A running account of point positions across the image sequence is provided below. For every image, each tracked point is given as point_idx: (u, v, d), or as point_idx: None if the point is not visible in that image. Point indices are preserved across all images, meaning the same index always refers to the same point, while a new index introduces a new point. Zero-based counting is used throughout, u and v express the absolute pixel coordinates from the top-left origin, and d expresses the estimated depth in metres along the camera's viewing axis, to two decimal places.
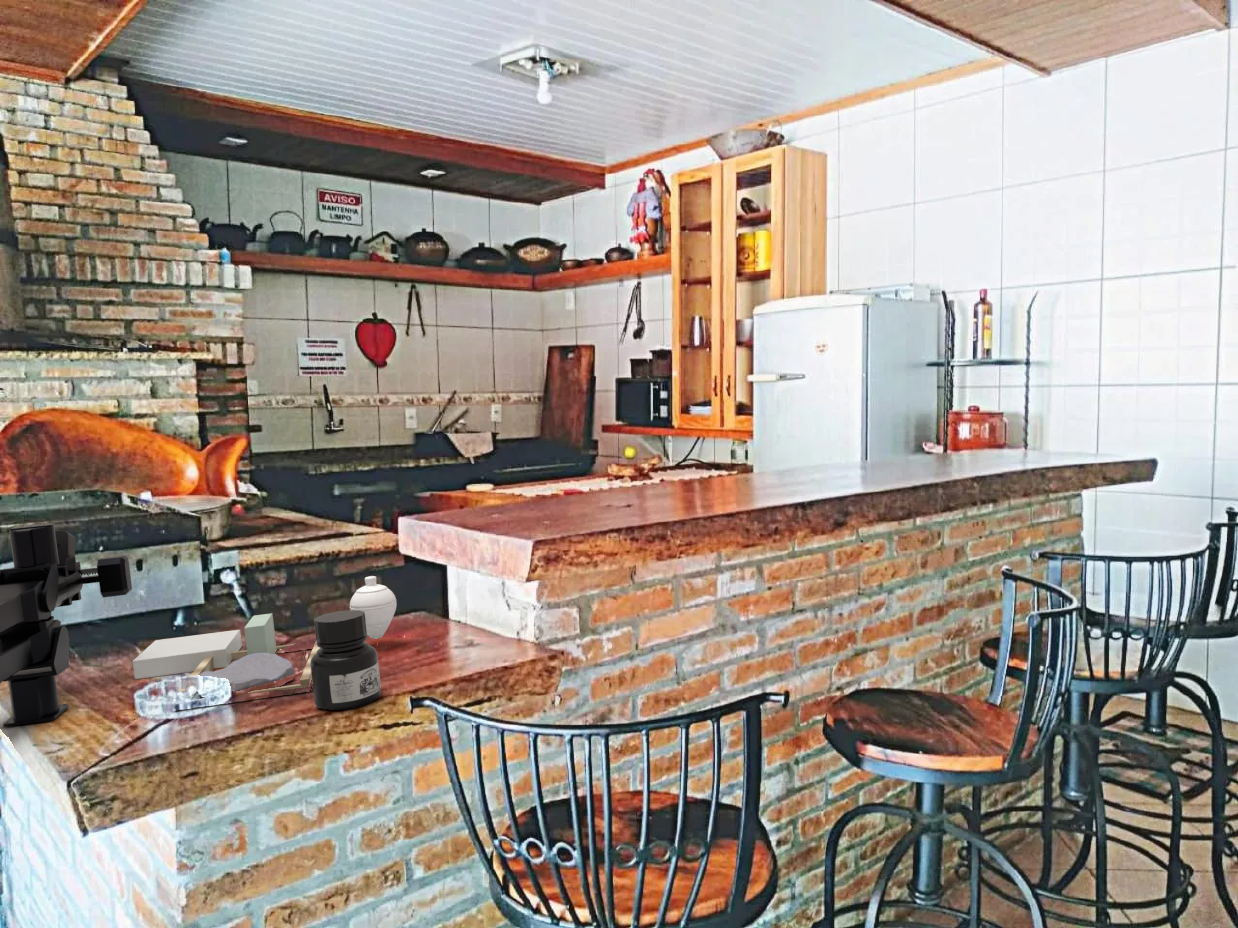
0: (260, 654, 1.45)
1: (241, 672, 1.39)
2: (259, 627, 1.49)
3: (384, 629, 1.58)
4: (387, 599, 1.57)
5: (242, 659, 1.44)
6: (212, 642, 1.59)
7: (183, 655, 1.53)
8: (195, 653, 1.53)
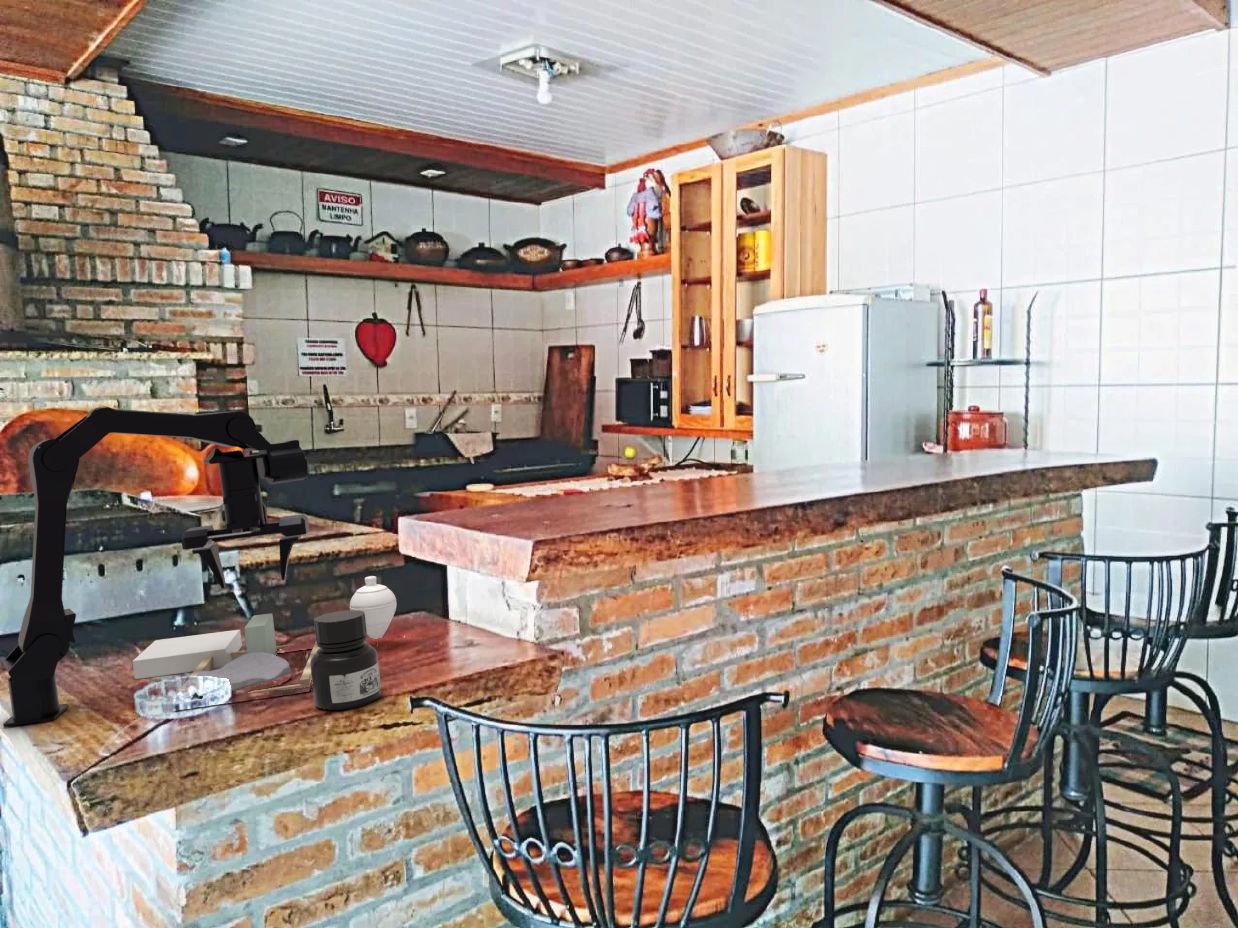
0: (257, 654, 1.45)
1: (238, 672, 1.39)
2: (259, 627, 1.49)
3: (384, 629, 1.58)
4: (387, 599, 1.57)
5: (239, 659, 1.45)
6: (212, 642, 1.59)
7: (183, 655, 1.53)
8: (195, 653, 1.53)
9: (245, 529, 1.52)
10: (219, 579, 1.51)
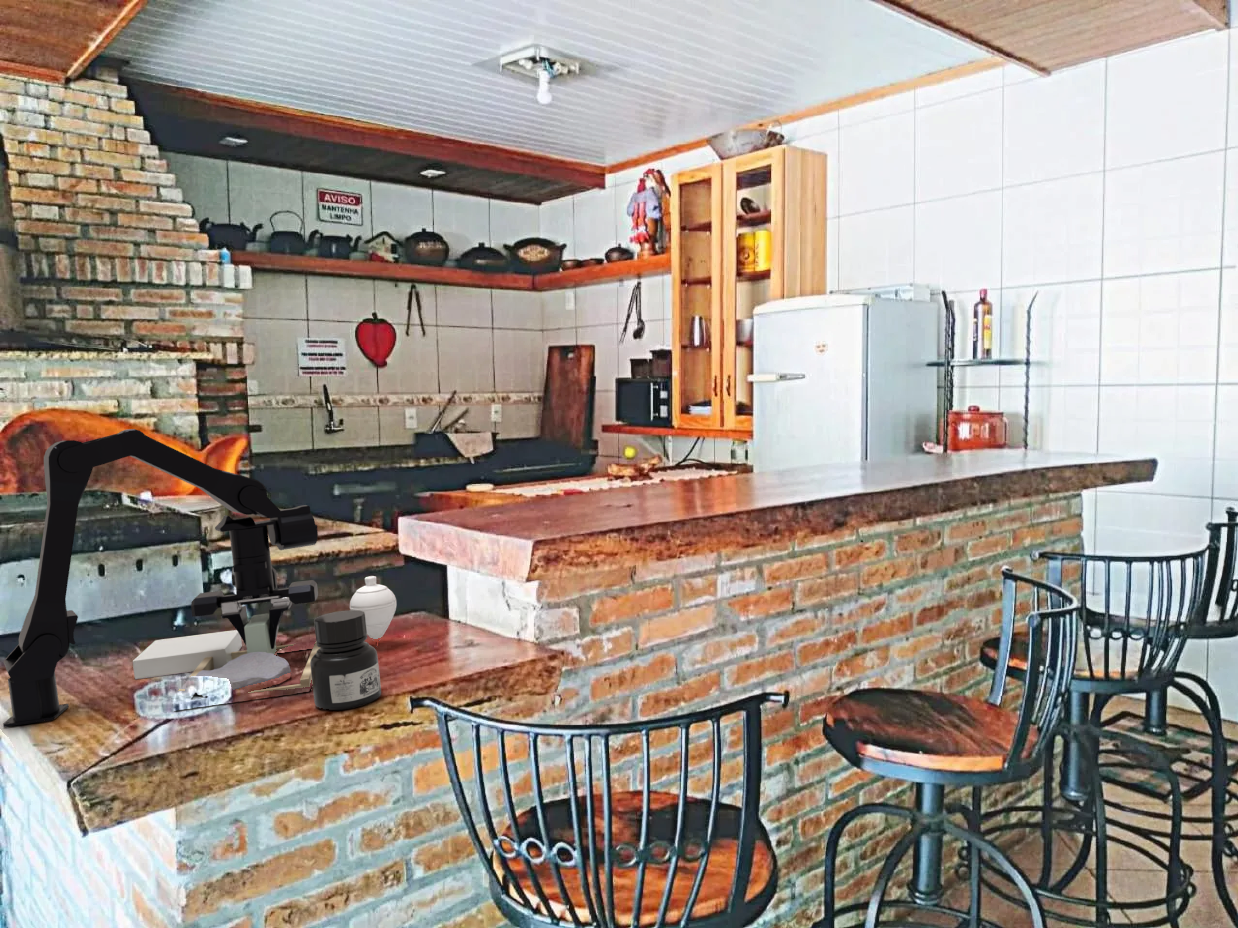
0: (257, 653, 1.46)
1: (238, 671, 1.39)
2: (259, 626, 1.49)
3: (384, 629, 1.58)
4: (387, 599, 1.57)
5: (239, 658, 1.45)
6: (212, 642, 1.59)
7: (183, 655, 1.53)
8: (195, 653, 1.53)
9: (254, 595, 1.52)
10: None
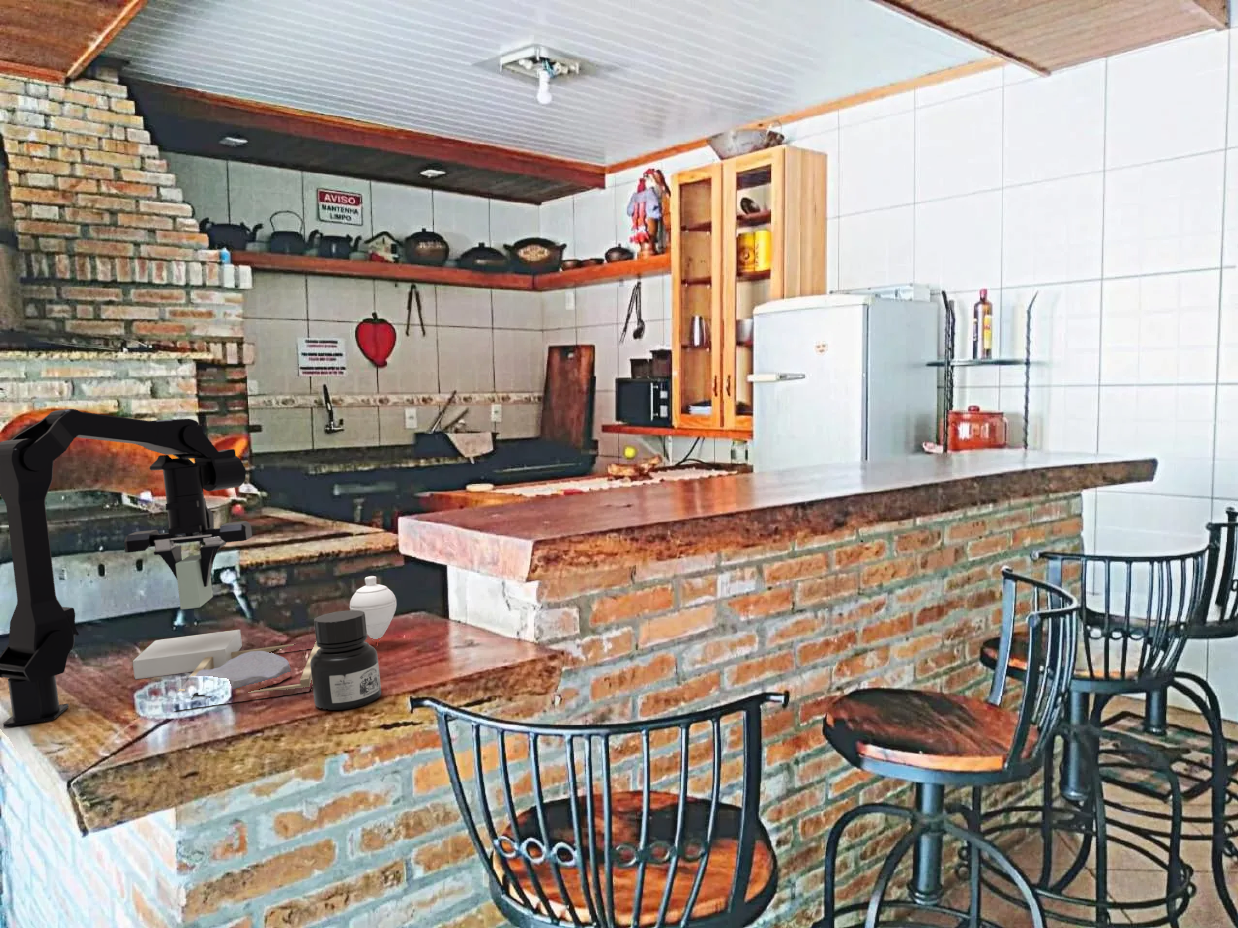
0: (257, 652, 1.46)
1: (239, 670, 1.40)
2: (190, 563, 1.53)
3: (384, 629, 1.58)
4: (387, 599, 1.57)
5: (239, 657, 1.45)
6: (212, 642, 1.59)
7: (183, 655, 1.53)
8: (195, 653, 1.53)
9: (187, 534, 1.56)
10: None
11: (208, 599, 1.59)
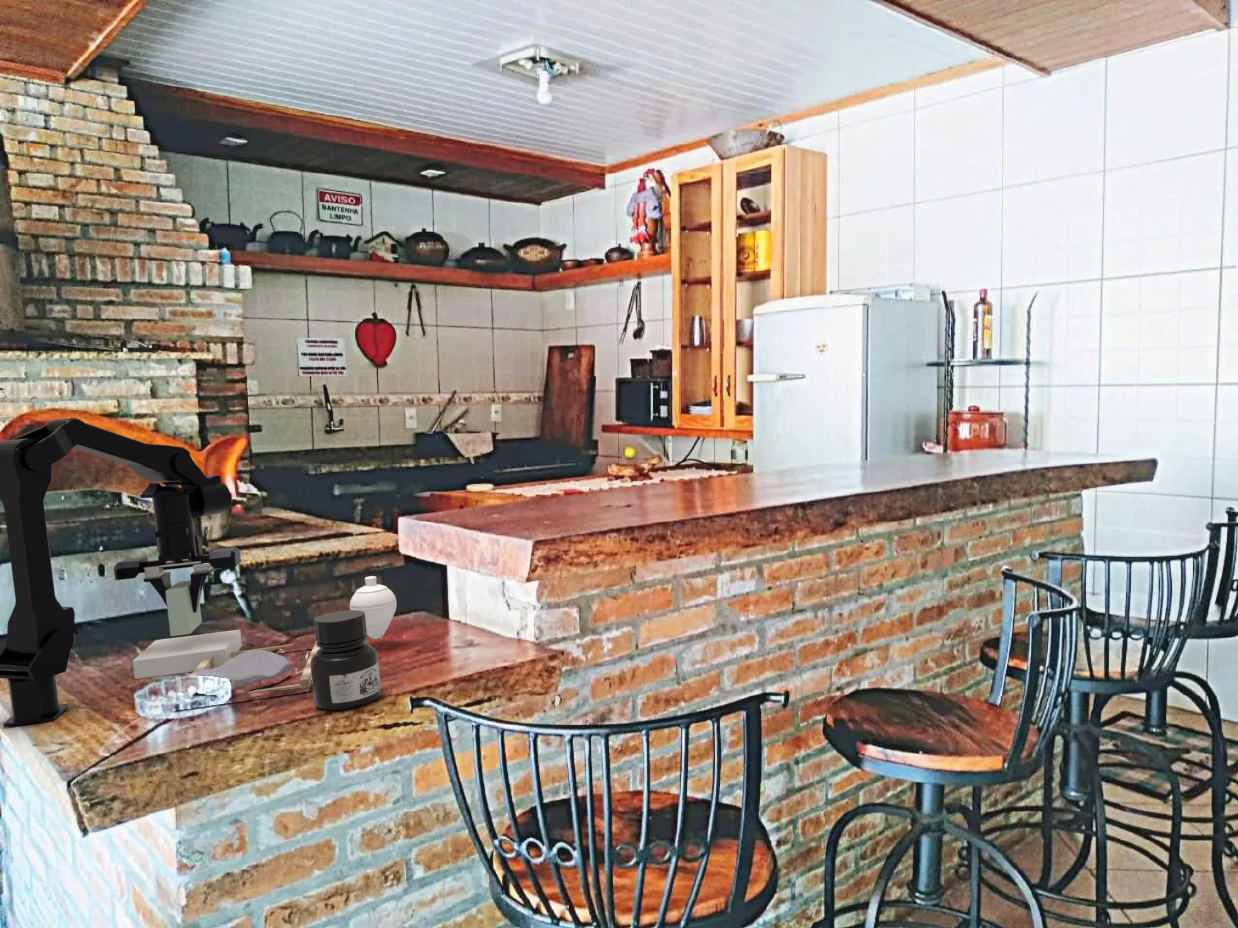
0: (256, 651, 1.46)
1: (239, 669, 1.40)
2: (180, 591, 1.54)
3: (384, 629, 1.58)
4: (387, 599, 1.57)
5: (238, 657, 1.46)
6: (212, 642, 1.59)
7: (183, 655, 1.53)
8: (195, 653, 1.53)
9: (177, 561, 1.58)
10: None
11: (197, 625, 1.61)
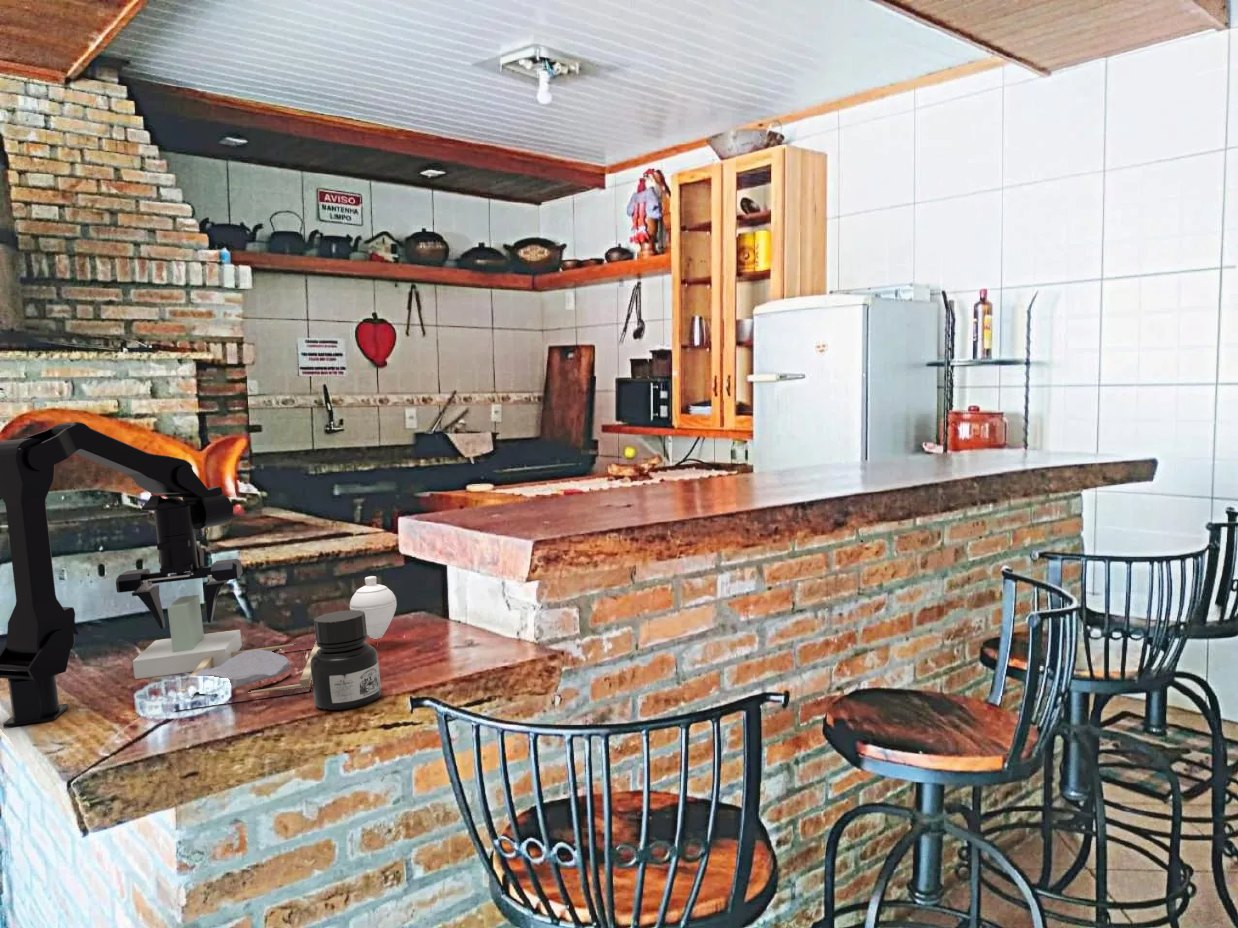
0: (255, 651, 1.47)
1: (240, 668, 1.41)
2: (182, 607, 1.55)
3: (384, 629, 1.58)
4: (387, 599, 1.57)
5: (237, 656, 1.46)
6: (212, 642, 1.59)
7: (183, 655, 1.53)
8: (195, 653, 1.53)
9: (179, 573, 1.58)
10: (158, 620, 1.57)
11: (200, 640, 1.61)
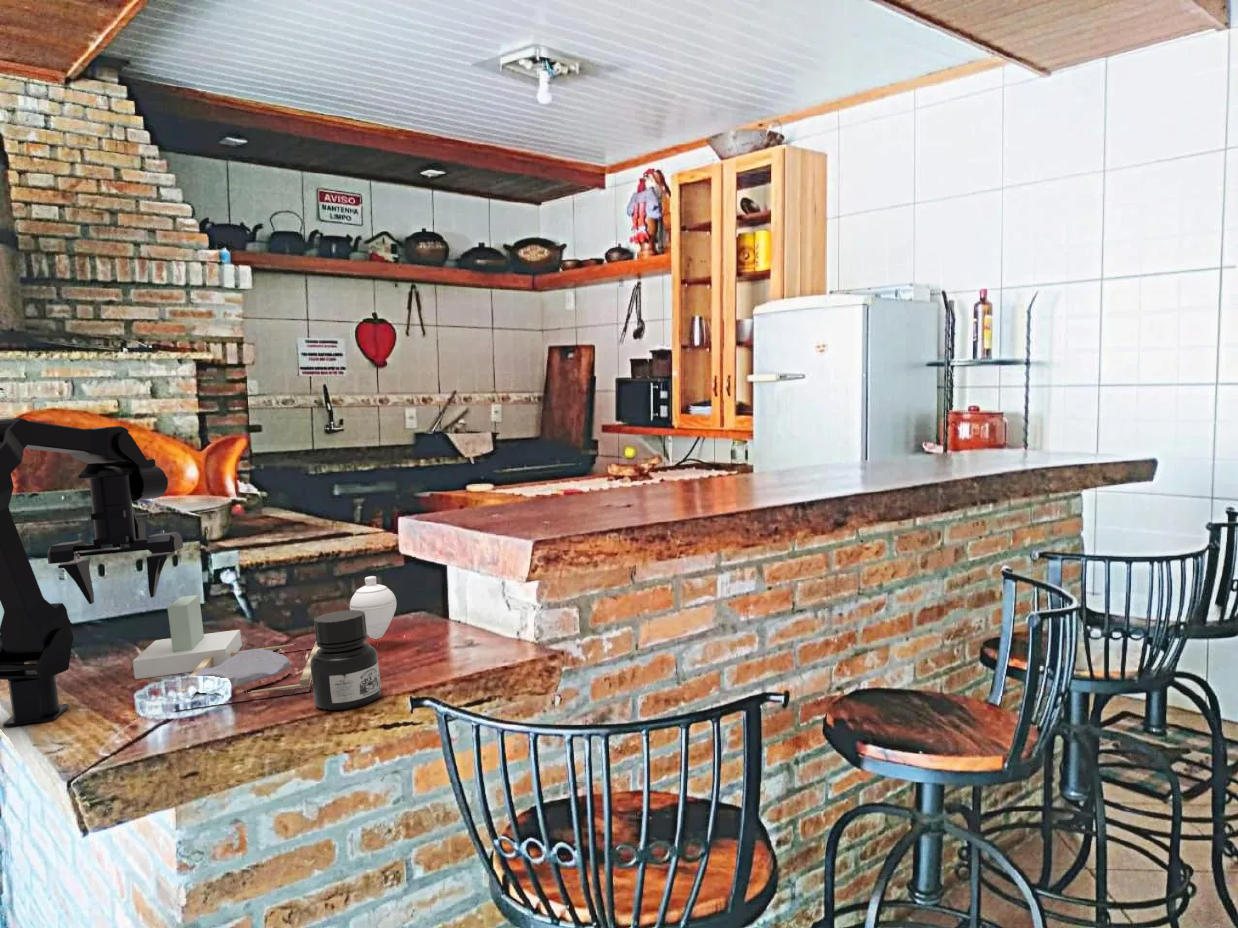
0: (255, 650, 1.47)
1: (240, 667, 1.41)
2: (182, 607, 1.55)
3: (384, 629, 1.58)
4: (387, 599, 1.57)
5: (237, 656, 1.47)
6: (212, 642, 1.59)
7: (183, 655, 1.53)
8: (195, 653, 1.53)
9: (114, 545, 1.52)
10: (86, 594, 1.51)
11: (200, 640, 1.61)
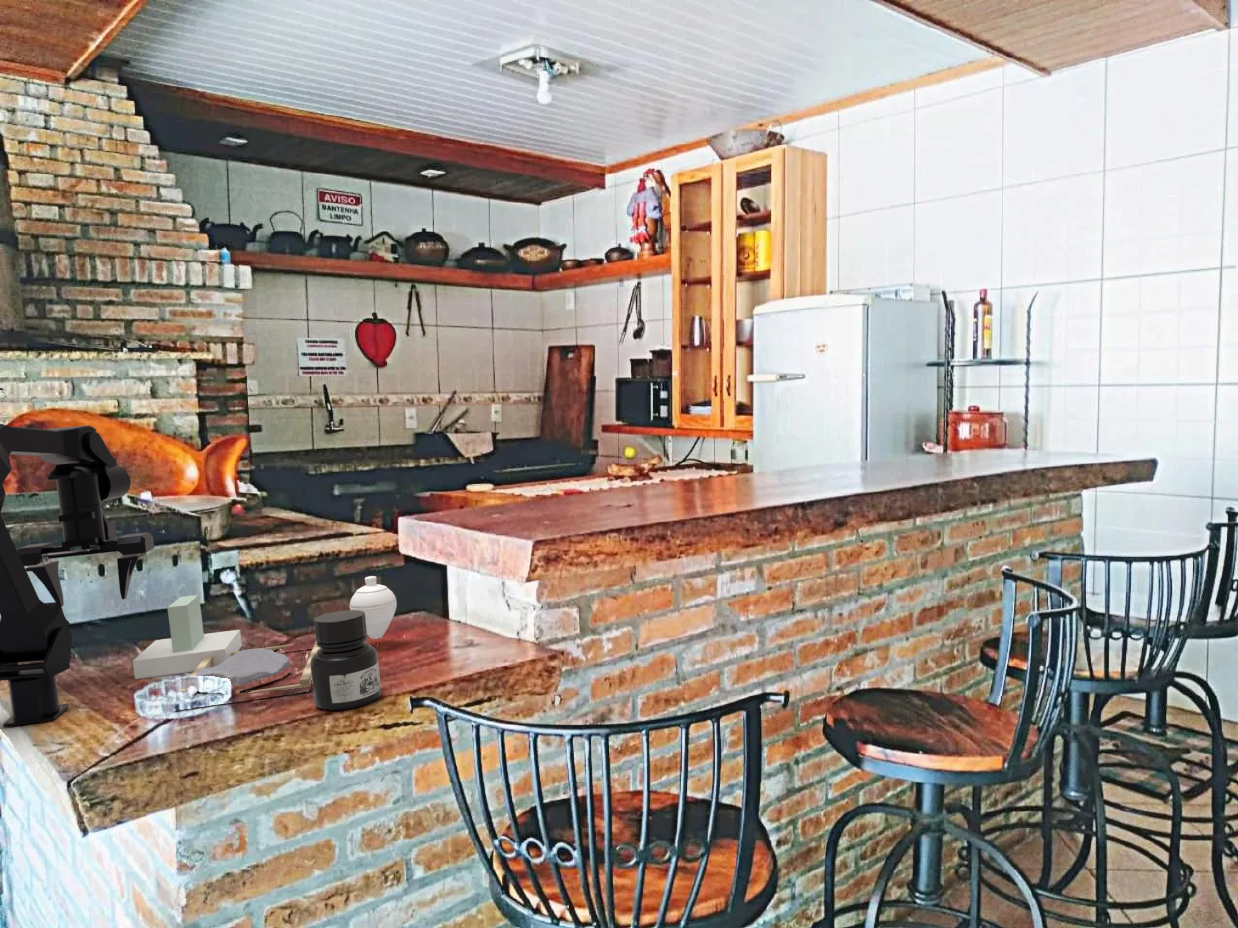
0: (254, 650, 1.48)
1: (241, 667, 1.42)
2: (182, 607, 1.55)
3: (384, 629, 1.58)
4: (387, 599, 1.57)
5: (236, 655, 1.47)
6: (212, 642, 1.59)
7: (183, 655, 1.53)
8: (195, 653, 1.53)
9: (84, 547, 1.49)
10: (55, 597, 1.48)
11: (200, 640, 1.61)
